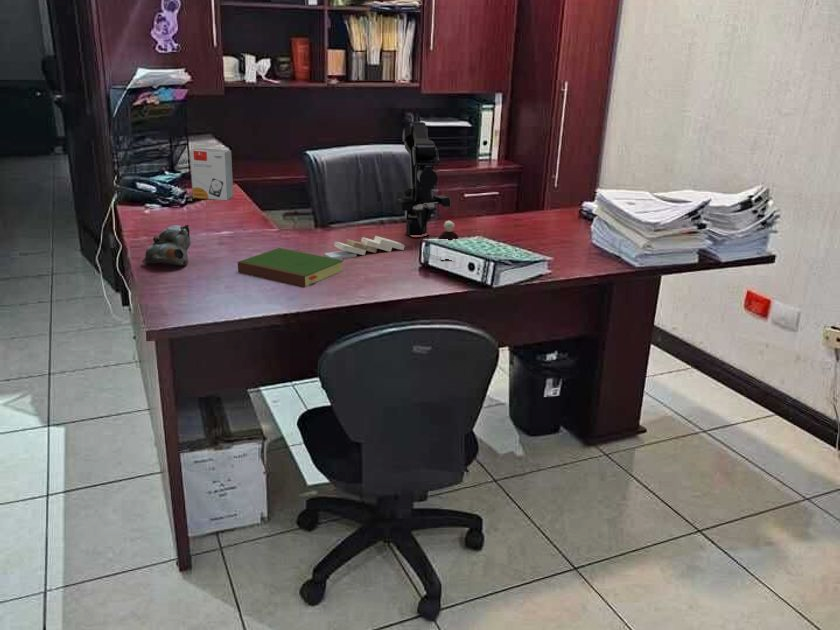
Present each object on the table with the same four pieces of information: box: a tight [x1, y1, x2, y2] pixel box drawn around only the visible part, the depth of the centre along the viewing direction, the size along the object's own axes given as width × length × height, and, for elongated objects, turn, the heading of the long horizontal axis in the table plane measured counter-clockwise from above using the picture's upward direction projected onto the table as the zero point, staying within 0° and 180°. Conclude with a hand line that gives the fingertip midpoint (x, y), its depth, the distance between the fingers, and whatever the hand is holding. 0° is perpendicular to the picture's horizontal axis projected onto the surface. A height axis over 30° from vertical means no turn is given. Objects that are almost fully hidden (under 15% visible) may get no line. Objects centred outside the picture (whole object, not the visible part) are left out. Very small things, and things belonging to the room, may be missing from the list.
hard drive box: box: [189, 147, 234, 201], centre depth 307 cm, size 16×8×20 cm, turn 81°
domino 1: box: [323, 250, 358, 260], centre depth 234 cm, size 2×5×9 cm
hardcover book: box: [237, 247, 344, 288], centre depth 218 cm, size 25×19×4 cm
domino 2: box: [333, 241, 367, 256], centre depth 235 cm, size 2×5×9 cm
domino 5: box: [373, 235, 406, 251], centre depth 243 cm, size 2×5×9 cm
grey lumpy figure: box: [141, 224, 192, 267], centre depth 220 cm, size 15×12×14 cm
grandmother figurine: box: [437, 220, 460, 241], centre depth 232 cm, size 8×4×13 cm, turn 118°
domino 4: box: [360, 236, 393, 252], centre depth 241 cm, size 2×5×9 cm
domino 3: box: [344, 238, 378, 254], centre depth 238 cm, size 2×5×9 cm
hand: (422, 228), depth 247 cm, fingers closed
